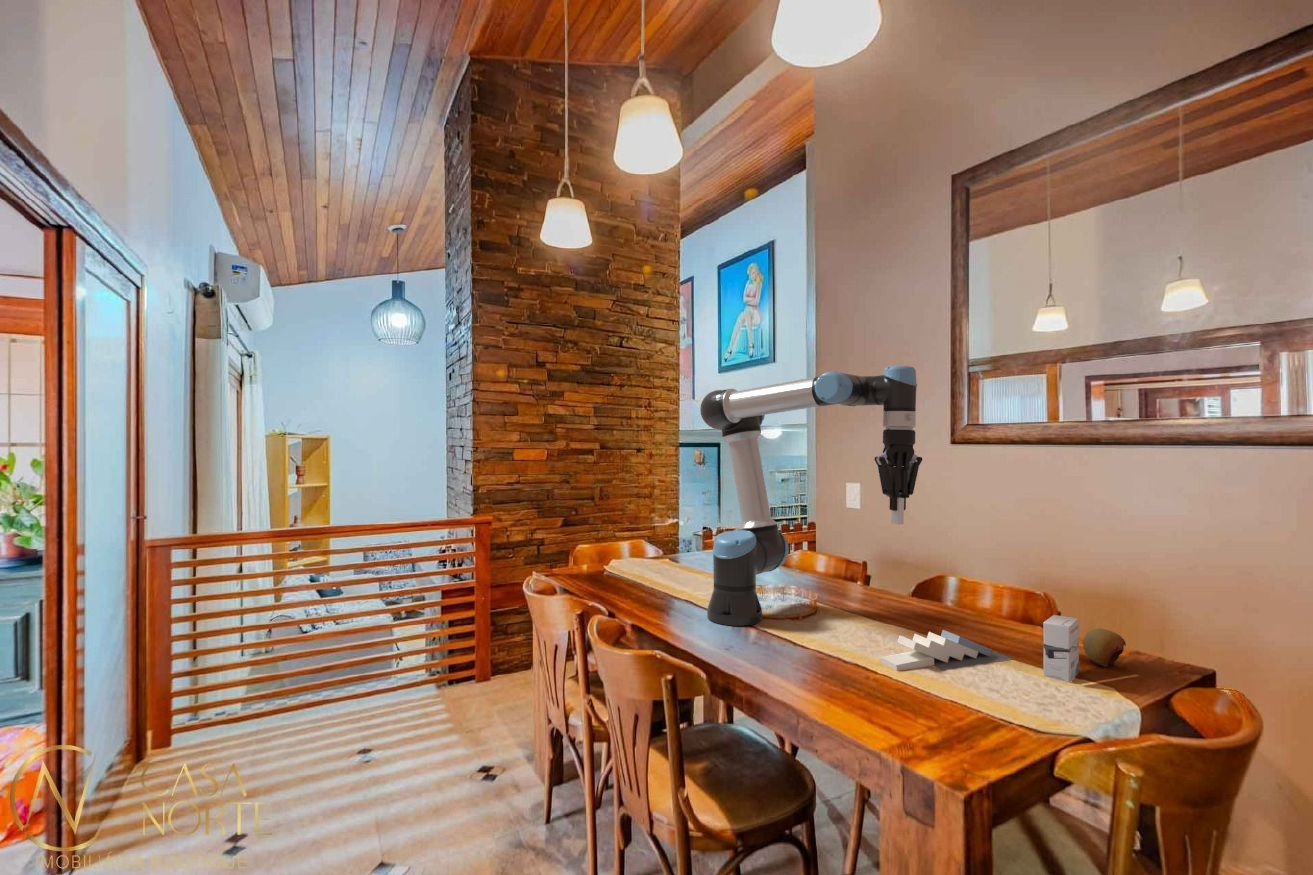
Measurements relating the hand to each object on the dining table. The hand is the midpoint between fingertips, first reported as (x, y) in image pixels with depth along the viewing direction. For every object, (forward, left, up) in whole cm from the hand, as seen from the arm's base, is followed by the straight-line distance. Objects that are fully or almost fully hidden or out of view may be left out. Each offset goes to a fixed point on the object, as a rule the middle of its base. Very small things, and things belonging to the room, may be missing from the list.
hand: (897, 523), depth 152 cm
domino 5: (+15, +11, -27) cm, 33 cm away
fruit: (+29, +30, -29) cm, 51 cm away
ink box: (+30, +16, -29) cm, 45 cm away
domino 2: (+15, -1, -27) cm, 32 cm away
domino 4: (+15, +7, -28) cm, 32 cm away
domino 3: (+15, +3, -28) cm, 32 cm away
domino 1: (+15, -5, -27) cm, 32 cm away
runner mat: (+15, +4, -29) cm, 33 cm away
